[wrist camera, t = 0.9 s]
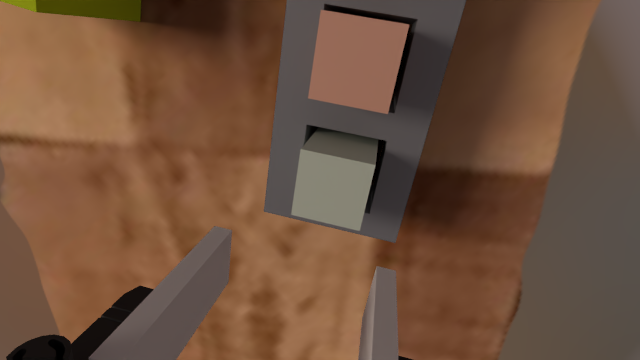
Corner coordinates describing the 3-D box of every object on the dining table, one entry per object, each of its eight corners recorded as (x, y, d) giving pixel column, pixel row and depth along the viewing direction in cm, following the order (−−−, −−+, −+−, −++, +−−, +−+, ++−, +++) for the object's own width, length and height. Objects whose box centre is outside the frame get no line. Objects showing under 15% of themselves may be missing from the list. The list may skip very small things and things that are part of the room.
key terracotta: (339, 19, 25) (320, 9, 19) (403, 29, 25) (409, 24, 18) (328, 84, 27) (307, 98, 20) (388, 96, 27) (387, 114, 20)
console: (328, -152, 24) (309, -211, 18) (489, -134, 23) (521, -190, 17) (284, 184, 34) (263, 211, 29) (394, 209, 33) (395, 242, 27)
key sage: (321, 123, 29) (300, 149, 22) (378, 135, 28) (375, 165, 21) (313, 176, 30) (291, 214, 24) (366, 188, 30) (359, 231, 23)
